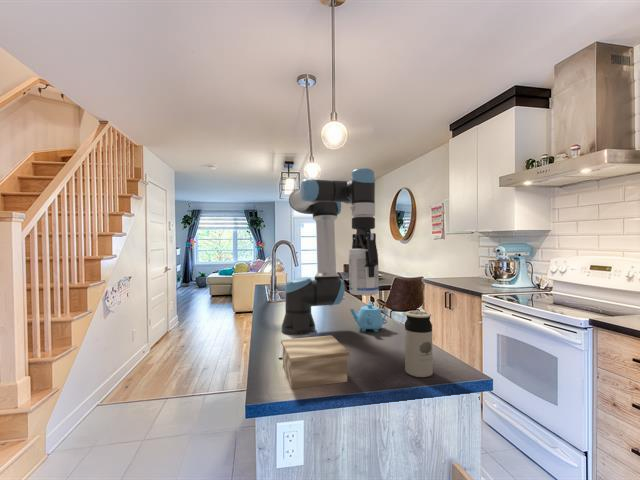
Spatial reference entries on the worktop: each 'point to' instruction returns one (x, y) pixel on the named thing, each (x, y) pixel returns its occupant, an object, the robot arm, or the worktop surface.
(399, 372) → the worktop surface
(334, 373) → the wooden block
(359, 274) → the supplement tub
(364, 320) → the teapot
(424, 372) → the travel mug
